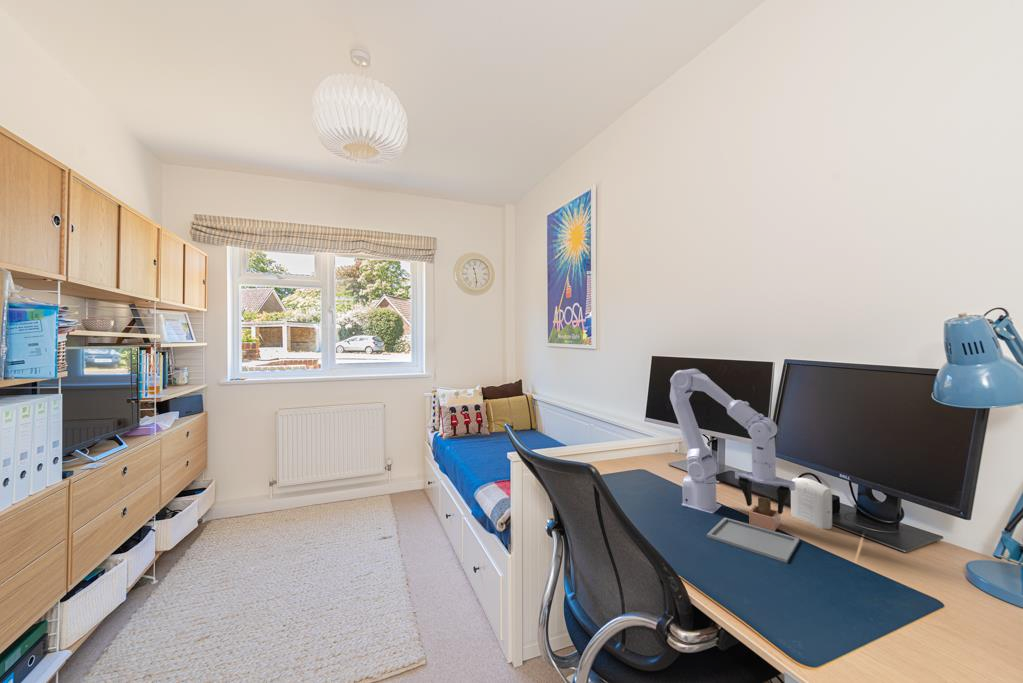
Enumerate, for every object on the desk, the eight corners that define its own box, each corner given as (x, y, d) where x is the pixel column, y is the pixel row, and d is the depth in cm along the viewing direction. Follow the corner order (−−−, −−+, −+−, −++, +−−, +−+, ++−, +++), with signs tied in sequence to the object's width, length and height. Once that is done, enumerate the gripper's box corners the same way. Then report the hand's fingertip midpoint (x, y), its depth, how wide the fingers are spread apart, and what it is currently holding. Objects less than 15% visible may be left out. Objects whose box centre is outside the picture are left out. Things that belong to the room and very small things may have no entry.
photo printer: (835, 529, 110) (834, 485, 110) (824, 532, 109) (823, 487, 109) (798, 514, 120) (798, 473, 120) (788, 516, 119) (787, 475, 119)
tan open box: (749, 525, 113) (749, 511, 113) (755, 518, 117) (755, 505, 117) (774, 532, 109) (774, 518, 109) (780, 525, 113) (779, 511, 113)
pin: (757, 523, 113) (756, 499, 113) (760, 520, 115) (759, 496, 115) (769, 527, 111) (768, 502, 111) (772, 523, 113) (771, 499, 113)
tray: (706, 538, 106) (706, 534, 106) (724, 521, 116) (724, 517, 116) (786, 565, 93) (786, 559, 93) (799, 543, 103) (799, 538, 103)
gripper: (731, 459, 115) (732, 505, 115) (790, 470, 105) (791, 521, 105) (738, 454, 120) (739, 498, 120) (796, 464, 110) (797, 512, 110)
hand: (764, 508), depth 113 cm, fingers open, 7 cm apart
